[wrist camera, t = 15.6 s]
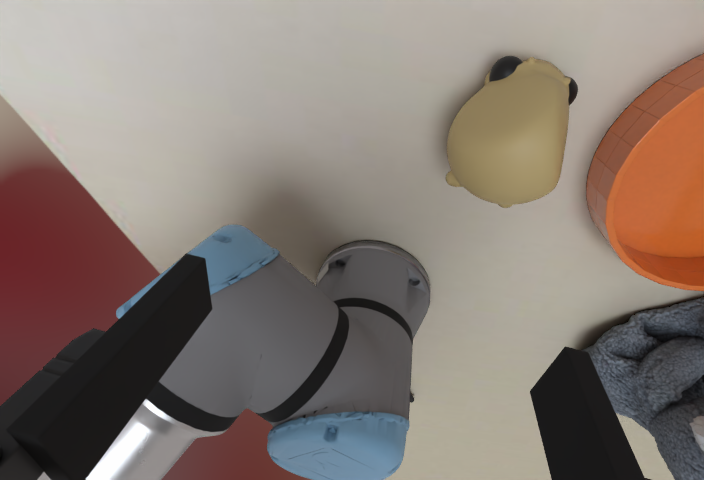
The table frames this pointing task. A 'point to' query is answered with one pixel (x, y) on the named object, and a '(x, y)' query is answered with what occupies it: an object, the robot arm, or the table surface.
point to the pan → (656, 181)
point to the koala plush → (660, 380)
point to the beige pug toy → (512, 133)
